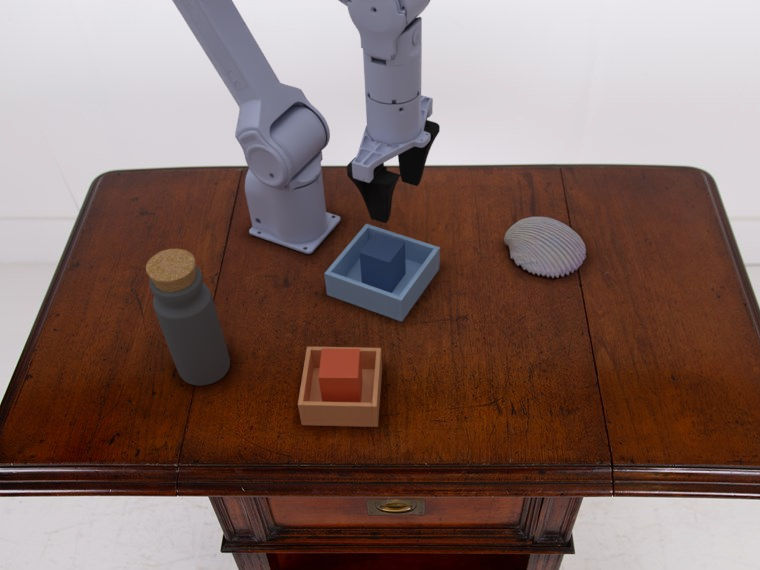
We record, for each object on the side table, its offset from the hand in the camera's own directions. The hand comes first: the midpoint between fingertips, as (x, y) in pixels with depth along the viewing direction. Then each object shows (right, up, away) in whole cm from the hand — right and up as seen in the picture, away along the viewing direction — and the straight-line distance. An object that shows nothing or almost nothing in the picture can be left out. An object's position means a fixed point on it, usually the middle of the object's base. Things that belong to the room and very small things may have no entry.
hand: (395, 200), depth 87 cm
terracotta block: (-6, -22, -6) cm, 24 cm away
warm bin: (-6, -23, -6) cm, 24 cm away
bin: (-1, -9, +5) cm, 10 cm away
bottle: (-21, -19, -3) cm, 29 cm away
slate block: (-1, -8, +5) cm, 10 cm away
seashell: (+19, -4, +8) cm, 21 cm away
